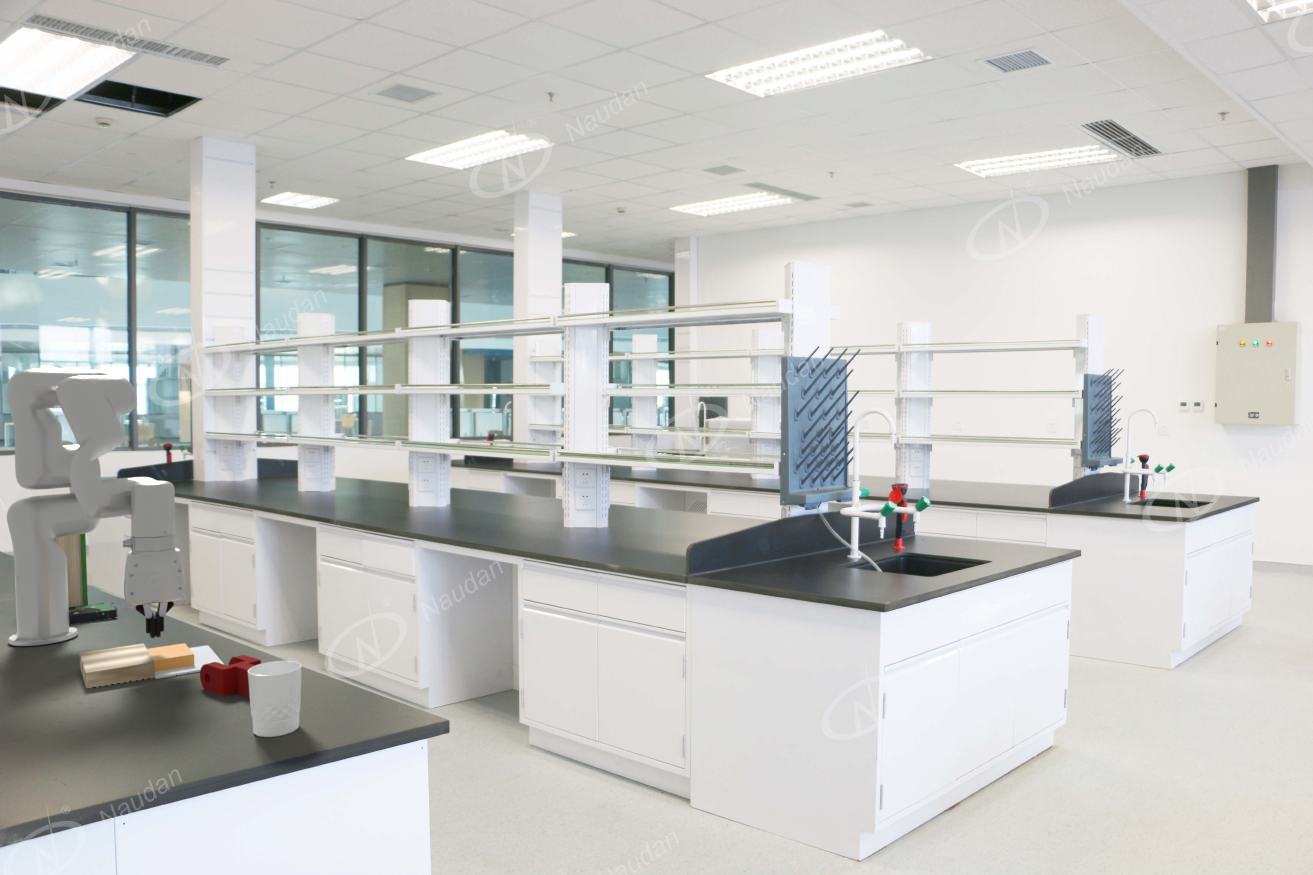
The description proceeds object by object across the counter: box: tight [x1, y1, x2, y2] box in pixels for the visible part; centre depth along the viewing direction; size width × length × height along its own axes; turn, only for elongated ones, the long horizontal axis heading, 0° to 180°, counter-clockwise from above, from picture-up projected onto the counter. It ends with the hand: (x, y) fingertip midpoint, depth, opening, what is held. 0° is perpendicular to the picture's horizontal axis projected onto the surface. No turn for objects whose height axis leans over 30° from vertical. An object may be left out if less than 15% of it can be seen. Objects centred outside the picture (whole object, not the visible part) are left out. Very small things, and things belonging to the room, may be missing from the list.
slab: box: [147, 643, 194, 672], centre depth 178 cm, size 10×7×2 cm
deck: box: [79, 643, 155, 690], centre depth 173 cm, size 16×11×3 cm
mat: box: [154, 645, 224, 680], centre depth 180 cm, size 18×12×1 cm, turn 36°
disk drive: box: [69, 602, 118, 625], centre depth 216 cm, size 10×3×15 cm
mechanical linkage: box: [199, 654, 262, 698], centre depth 162 cm, size 16×7×5 cm, turn 54°
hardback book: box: [54, 533, 89, 607], centre depth 229 cm, size 18×7×24 cm, turn 44°
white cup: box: [248, 660, 302, 738], centre depth 143 cm, size 8×8×10 cm
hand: (155, 635), depth 177 cm, fingers closed
